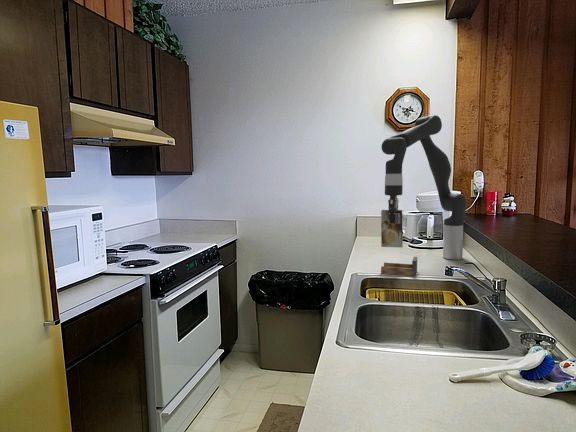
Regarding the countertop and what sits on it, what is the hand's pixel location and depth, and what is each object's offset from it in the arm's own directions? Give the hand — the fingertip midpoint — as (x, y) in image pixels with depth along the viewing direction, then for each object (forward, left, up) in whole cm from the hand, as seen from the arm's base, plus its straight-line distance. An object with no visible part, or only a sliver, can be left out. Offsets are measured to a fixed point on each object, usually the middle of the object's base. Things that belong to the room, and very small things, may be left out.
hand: (393, 222), depth 177 cm
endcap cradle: (-3, 0, -22) cm, 23 cm away
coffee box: (0, 0, -11) cm, 11 cm away
